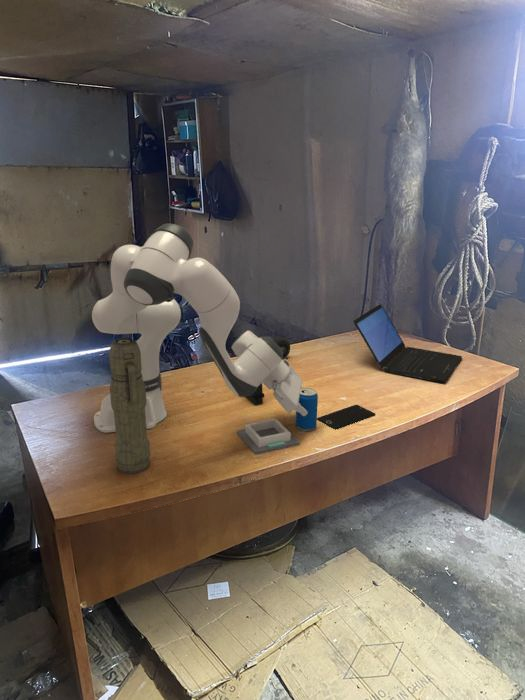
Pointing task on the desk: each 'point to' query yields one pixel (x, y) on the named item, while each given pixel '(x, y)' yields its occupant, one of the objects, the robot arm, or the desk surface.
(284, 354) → the caster wheel
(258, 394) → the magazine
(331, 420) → the cell phone
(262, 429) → the charging dock
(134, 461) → the thermos
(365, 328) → the laptop
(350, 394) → the desk surface
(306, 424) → the beverage can
